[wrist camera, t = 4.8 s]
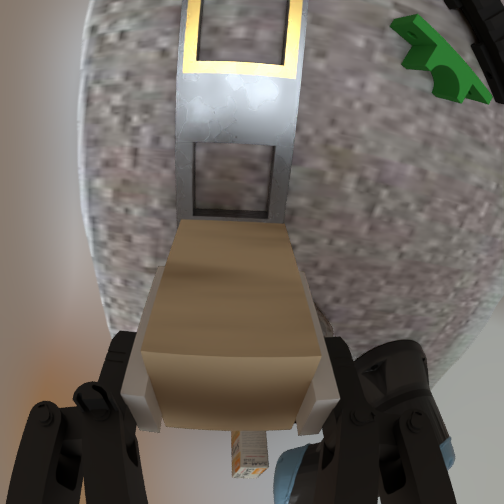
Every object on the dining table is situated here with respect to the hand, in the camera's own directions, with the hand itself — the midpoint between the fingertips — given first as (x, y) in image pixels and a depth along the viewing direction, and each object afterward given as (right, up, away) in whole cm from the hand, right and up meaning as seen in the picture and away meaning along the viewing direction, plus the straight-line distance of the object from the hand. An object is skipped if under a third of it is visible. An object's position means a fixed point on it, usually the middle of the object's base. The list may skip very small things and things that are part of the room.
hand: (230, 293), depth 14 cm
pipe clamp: (+18, +20, +8) cm, 28 cm away
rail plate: (0, +15, +10) cm, 18 cm away
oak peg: (0, +1, +2) cm, 2 cm away
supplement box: (0, -27, +37) cm, 46 cm away
